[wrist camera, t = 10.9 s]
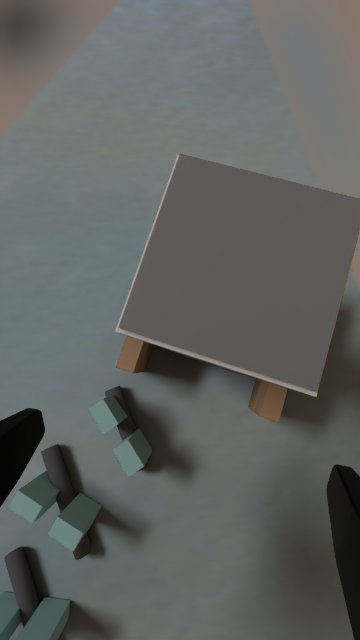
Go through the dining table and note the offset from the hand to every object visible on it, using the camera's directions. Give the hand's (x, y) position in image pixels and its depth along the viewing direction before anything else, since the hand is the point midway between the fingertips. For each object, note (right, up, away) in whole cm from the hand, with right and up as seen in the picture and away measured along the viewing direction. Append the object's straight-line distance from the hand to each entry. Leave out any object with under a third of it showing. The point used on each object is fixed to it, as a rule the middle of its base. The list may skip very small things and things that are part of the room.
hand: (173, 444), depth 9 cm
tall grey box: (+2, +3, +11) cm, 11 cm away
